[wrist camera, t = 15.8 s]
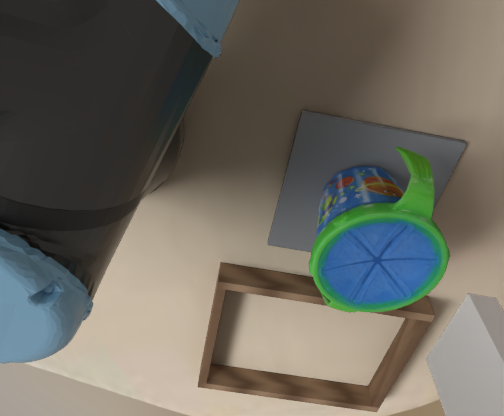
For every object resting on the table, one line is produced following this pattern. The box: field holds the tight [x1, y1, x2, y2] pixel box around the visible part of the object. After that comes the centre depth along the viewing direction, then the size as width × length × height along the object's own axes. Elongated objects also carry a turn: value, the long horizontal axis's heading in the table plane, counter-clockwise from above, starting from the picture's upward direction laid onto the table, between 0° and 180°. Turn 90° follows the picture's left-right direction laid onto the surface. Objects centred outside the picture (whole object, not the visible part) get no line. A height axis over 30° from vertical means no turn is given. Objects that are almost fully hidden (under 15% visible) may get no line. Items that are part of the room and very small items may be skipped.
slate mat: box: [268, 110, 467, 252], centre depth 43 cm, size 15×15×1 cm
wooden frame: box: [198, 263, 435, 412], centre depth 54 cm, size 24×19×3 cm
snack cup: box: [309, 147, 450, 312], centre depth 39 cm, size 16×10×10 cm
